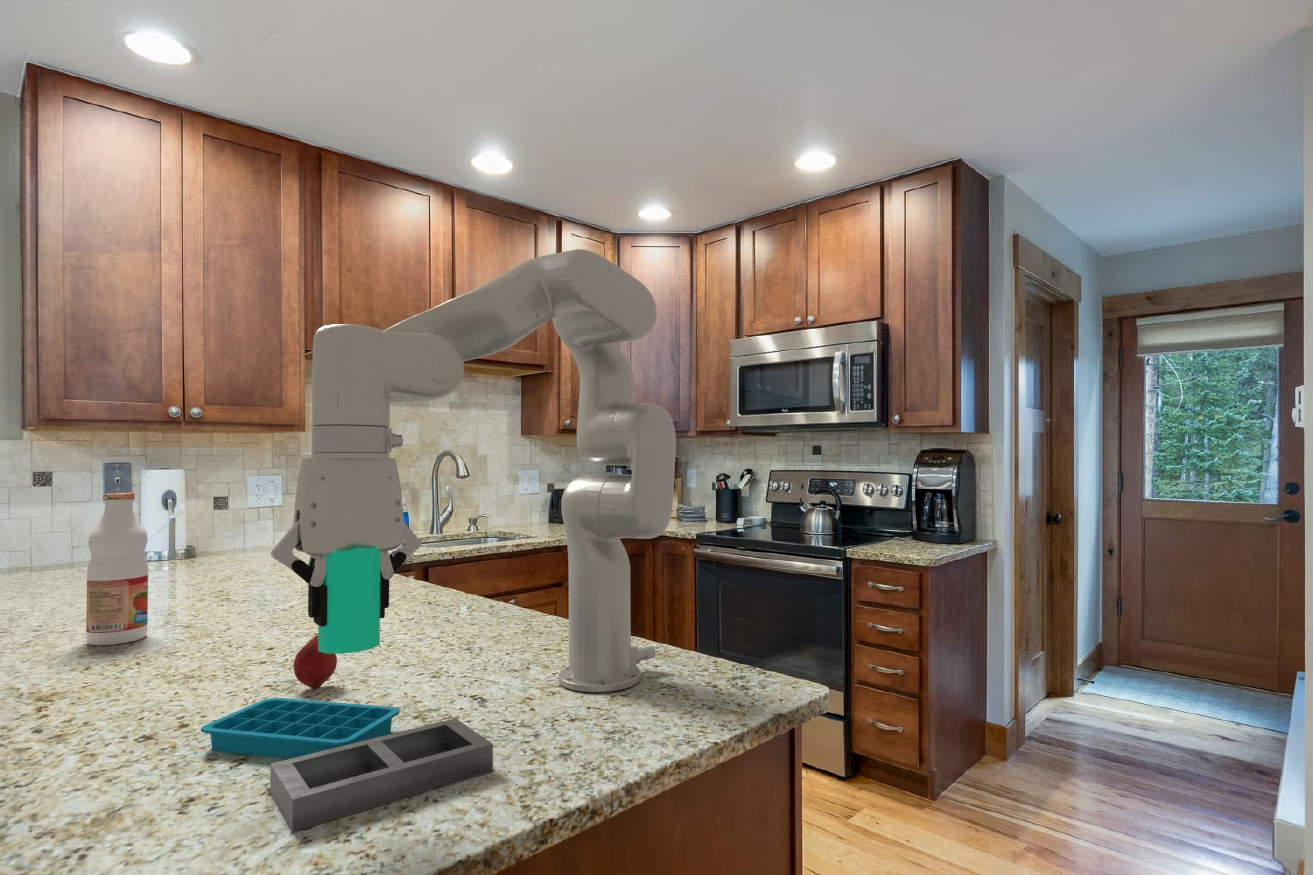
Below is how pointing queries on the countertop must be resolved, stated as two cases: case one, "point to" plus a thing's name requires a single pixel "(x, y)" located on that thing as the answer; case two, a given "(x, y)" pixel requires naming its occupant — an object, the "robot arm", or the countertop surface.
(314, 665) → the onion
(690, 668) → the countertop surface
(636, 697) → the countertop surface
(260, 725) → the ice cube tray
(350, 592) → the candle
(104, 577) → the fruit juice
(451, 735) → the hollow block
